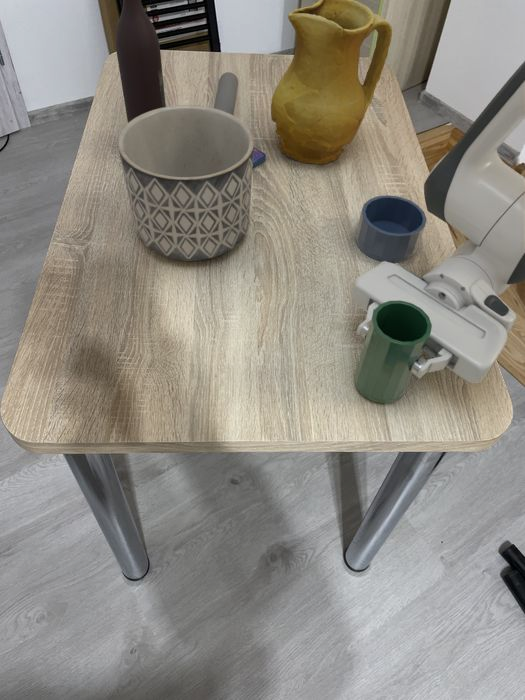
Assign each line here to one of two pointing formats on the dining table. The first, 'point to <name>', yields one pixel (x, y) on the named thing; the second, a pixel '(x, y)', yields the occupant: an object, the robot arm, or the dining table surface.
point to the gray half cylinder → (226, 93)
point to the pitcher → (327, 79)
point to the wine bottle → (139, 61)
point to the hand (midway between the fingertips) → (388, 352)
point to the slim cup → (391, 350)
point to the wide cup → (390, 228)
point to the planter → (188, 180)
